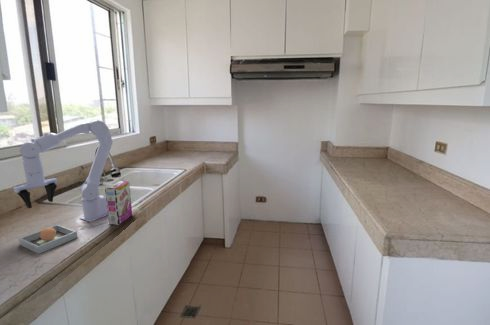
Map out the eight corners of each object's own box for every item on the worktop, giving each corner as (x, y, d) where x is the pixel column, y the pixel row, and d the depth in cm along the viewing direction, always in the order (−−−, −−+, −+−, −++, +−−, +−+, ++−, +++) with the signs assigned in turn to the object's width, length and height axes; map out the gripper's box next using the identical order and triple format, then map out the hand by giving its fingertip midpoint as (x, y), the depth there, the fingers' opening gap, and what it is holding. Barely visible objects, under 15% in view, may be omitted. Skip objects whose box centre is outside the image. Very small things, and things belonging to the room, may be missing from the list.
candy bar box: (119, 225, 113) (115, 188, 109) (108, 225, 113) (103, 188, 110) (133, 215, 124) (129, 180, 120) (123, 214, 124) (119, 180, 121)
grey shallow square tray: (58, 230, 109) (57, 224, 109) (77, 237, 103) (76, 231, 103) (20, 244, 98) (18, 238, 98) (38, 253, 92) (37, 247, 91)
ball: (53, 236, 104) (51, 224, 103) (59, 239, 102) (57, 227, 101) (38, 241, 100) (36, 228, 99) (44, 244, 97) (42, 232, 96)
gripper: (49, 167, 115) (54, 197, 117) (7, 175, 102) (14, 208, 105) (58, 169, 111) (63, 199, 114) (15, 177, 99) (22, 212, 102)
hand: (40, 204), depth 109 cm, fingers open, 7 cm apart
